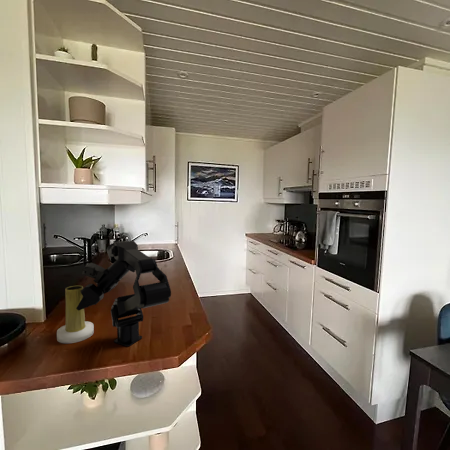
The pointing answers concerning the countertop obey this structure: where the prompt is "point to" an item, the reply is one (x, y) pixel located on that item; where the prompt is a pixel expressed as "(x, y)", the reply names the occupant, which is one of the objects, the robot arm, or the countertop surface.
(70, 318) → the vase
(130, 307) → the robot arm
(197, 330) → the countertop surface
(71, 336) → the plinth
